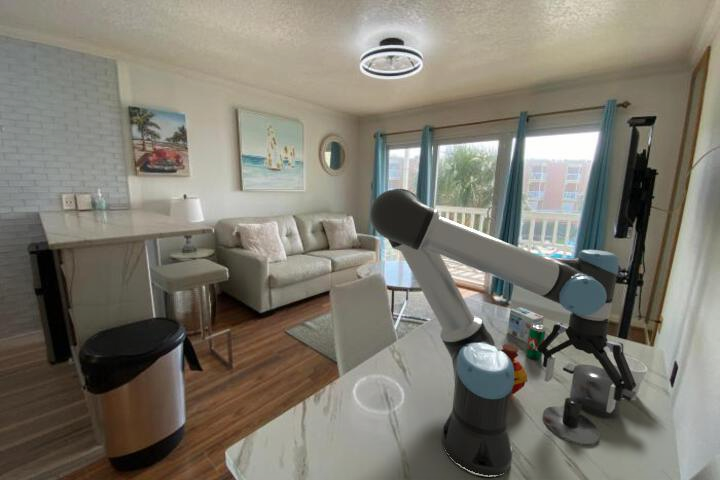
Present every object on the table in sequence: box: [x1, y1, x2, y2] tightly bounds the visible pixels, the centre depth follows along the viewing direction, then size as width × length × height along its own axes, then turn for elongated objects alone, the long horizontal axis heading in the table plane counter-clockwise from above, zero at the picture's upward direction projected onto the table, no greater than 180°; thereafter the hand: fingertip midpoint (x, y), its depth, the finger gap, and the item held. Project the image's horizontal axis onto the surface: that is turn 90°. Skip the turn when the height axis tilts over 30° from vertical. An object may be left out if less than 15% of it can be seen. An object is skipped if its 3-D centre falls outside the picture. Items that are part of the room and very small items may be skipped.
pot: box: [562, 362, 637, 420], centre depth 86 cm, size 11×16×9 cm
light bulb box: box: [506, 307, 545, 344], centre depth 125 cm, size 11×7×11 cm, turn 25°
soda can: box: [525, 324, 546, 361], centre depth 110 cm, size 5×5×12 cm
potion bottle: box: [500, 343, 528, 401], centre depth 89 cm, size 10×10×15 cm
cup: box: [602, 352, 648, 402], centre depth 92 cm, size 10×10×10 cm
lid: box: [542, 397, 600, 446], centre depth 78 cm, size 12×12×7 cm
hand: (577, 393), depth 77 cm, fingers open, 13 cm apart
